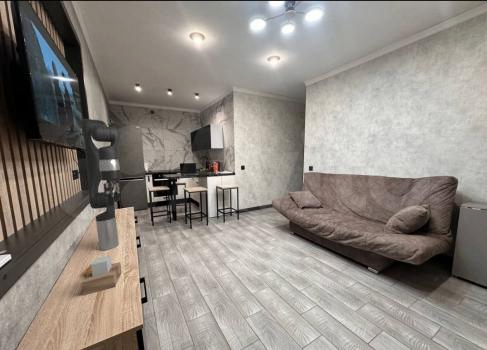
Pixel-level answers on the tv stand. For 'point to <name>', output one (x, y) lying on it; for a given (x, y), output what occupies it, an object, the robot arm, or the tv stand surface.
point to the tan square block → (102, 280)
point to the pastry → (88, 270)
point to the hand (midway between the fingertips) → (114, 203)
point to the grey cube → (101, 265)
